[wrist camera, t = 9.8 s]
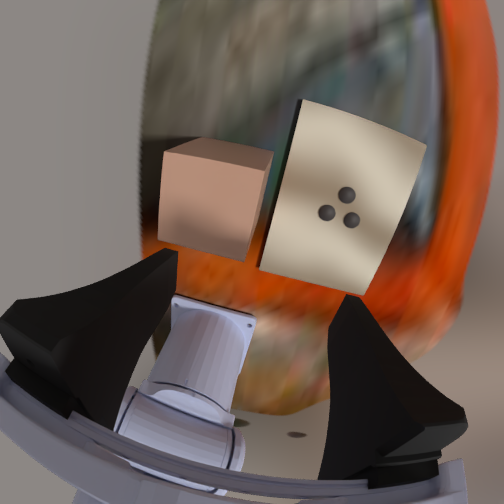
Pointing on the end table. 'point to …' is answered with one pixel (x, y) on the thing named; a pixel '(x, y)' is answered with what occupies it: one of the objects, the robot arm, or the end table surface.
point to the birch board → (339, 198)
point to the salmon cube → (212, 195)
